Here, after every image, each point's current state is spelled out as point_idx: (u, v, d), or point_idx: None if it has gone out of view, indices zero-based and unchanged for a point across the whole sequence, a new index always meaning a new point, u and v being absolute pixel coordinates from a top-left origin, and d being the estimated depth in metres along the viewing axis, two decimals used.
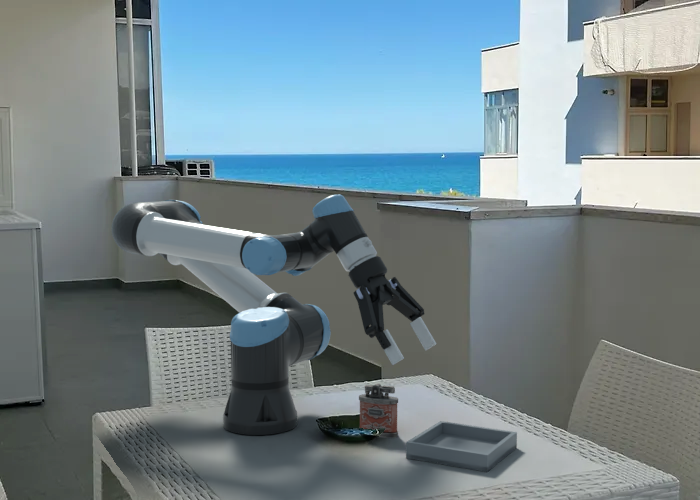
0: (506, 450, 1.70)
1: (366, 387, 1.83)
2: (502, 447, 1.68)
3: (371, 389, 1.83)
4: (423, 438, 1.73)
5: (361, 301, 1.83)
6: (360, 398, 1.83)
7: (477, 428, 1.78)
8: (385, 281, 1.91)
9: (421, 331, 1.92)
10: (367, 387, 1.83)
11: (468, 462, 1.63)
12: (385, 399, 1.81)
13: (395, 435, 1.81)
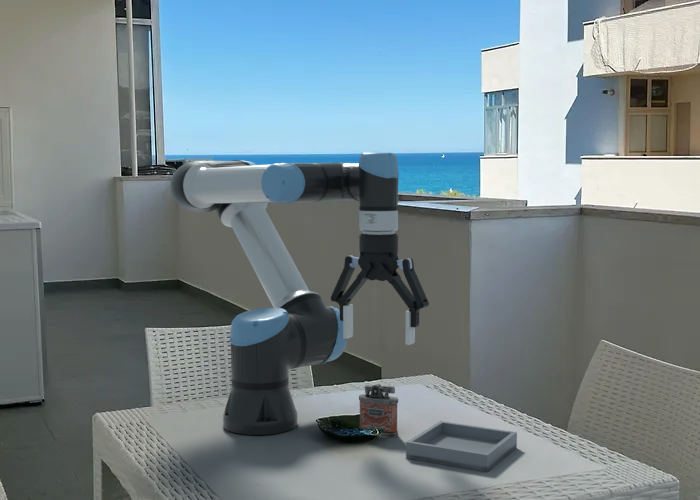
0: (506, 450, 1.70)
1: (366, 387, 1.83)
2: (502, 447, 1.68)
3: (371, 389, 1.83)
4: (423, 438, 1.73)
5: None
6: (360, 398, 1.83)
7: (477, 428, 1.78)
8: (387, 260, 1.78)
9: None
10: (367, 387, 1.83)
11: (468, 462, 1.63)
12: (385, 399, 1.81)
13: (395, 435, 1.81)
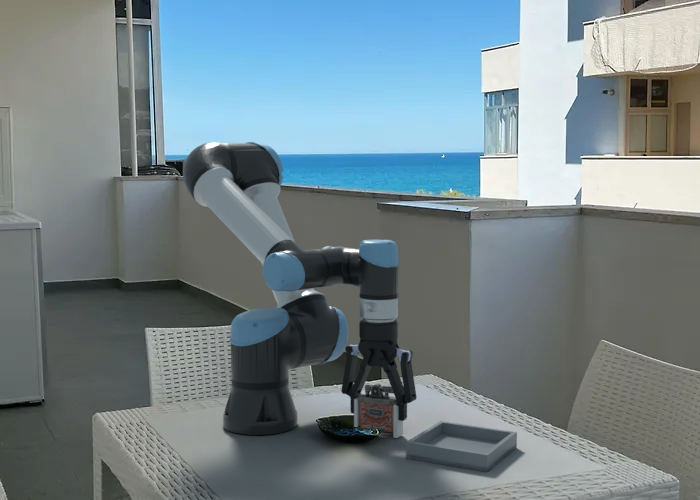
0: (506, 450, 1.70)
1: (366, 387, 1.83)
2: (502, 447, 1.68)
3: (371, 389, 1.83)
4: (423, 438, 1.73)
5: None
6: (360, 398, 1.83)
7: (477, 428, 1.78)
8: (387, 347, 1.80)
9: None
10: (367, 387, 1.83)
11: (468, 462, 1.63)
12: (385, 399, 1.81)
13: None
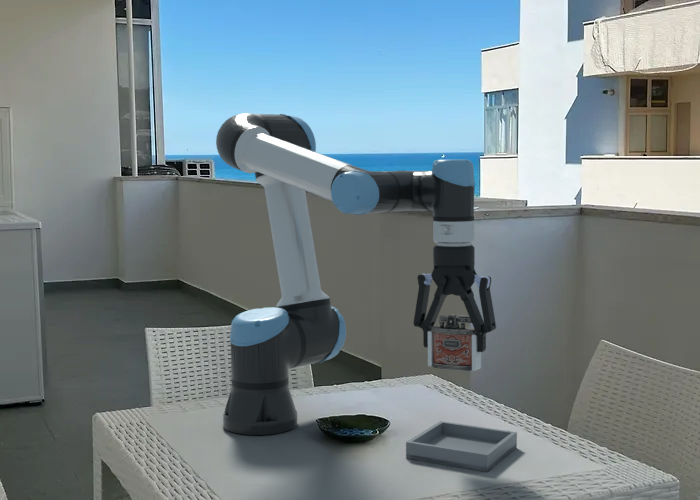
0: (506, 450, 1.70)
1: (441, 318, 1.71)
2: (502, 447, 1.68)
3: (446, 319, 1.70)
4: (423, 438, 1.73)
5: None
6: (434, 329, 1.71)
7: (477, 428, 1.78)
8: (464, 273, 1.68)
9: None
10: (442, 317, 1.71)
11: (468, 462, 1.63)
12: (462, 329, 1.69)
13: None
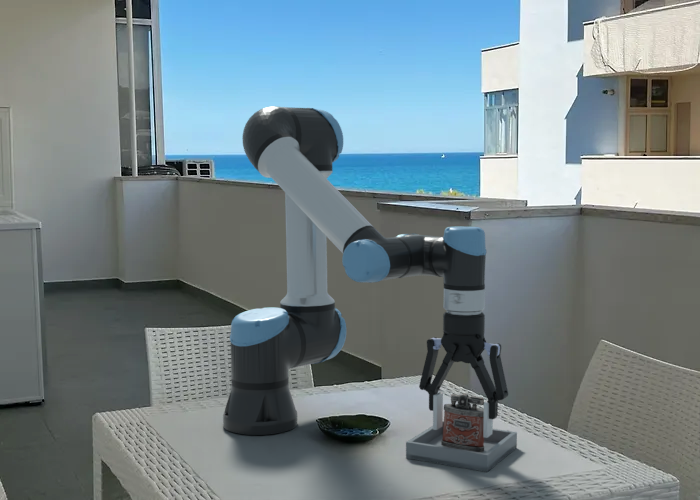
0: (506, 450, 1.70)
1: (453, 396, 1.71)
2: (502, 447, 1.68)
3: (458, 399, 1.71)
4: (423, 438, 1.73)
5: None
6: (445, 408, 1.71)
7: None
8: (474, 341, 1.68)
9: None
10: (454, 397, 1.71)
11: (468, 462, 1.63)
12: (473, 411, 1.69)
13: (482, 450, 1.70)
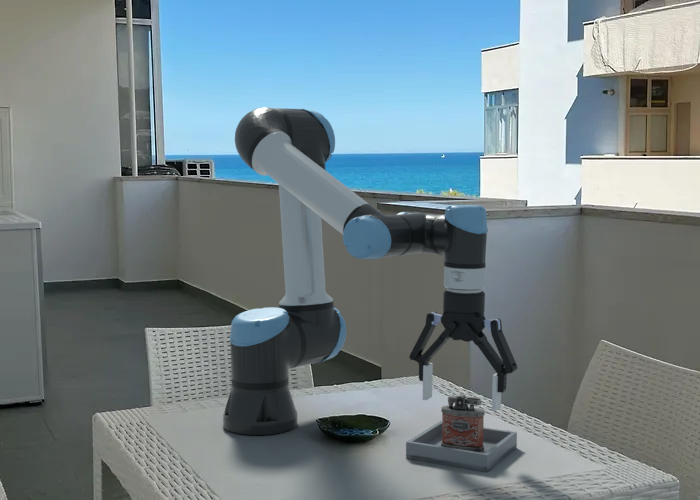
0: (506, 450, 1.70)
1: (450, 398, 1.71)
2: (502, 447, 1.68)
3: (455, 400, 1.71)
4: (423, 438, 1.73)
5: None
6: (443, 410, 1.71)
7: None
8: (473, 320, 1.67)
9: None
10: (451, 398, 1.71)
11: (468, 462, 1.63)
12: (471, 411, 1.69)
13: (481, 450, 1.70)
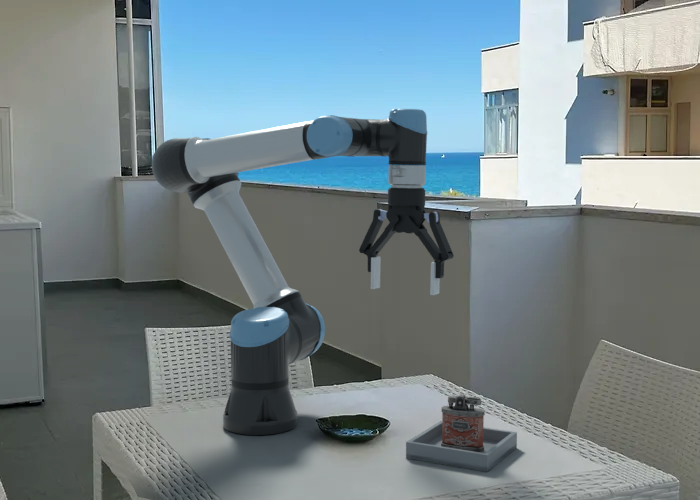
0: (506, 450, 1.70)
1: (450, 398, 1.71)
2: (502, 447, 1.68)
3: (455, 400, 1.71)
4: (423, 438, 1.73)
5: None
6: (443, 410, 1.71)
7: None
8: (414, 213, 1.85)
9: None
10: (451, 398, 1.71)
11: (468, 462, 1.63)
12: (471, 411, 1.69)
13: (481, 450, 1.70)
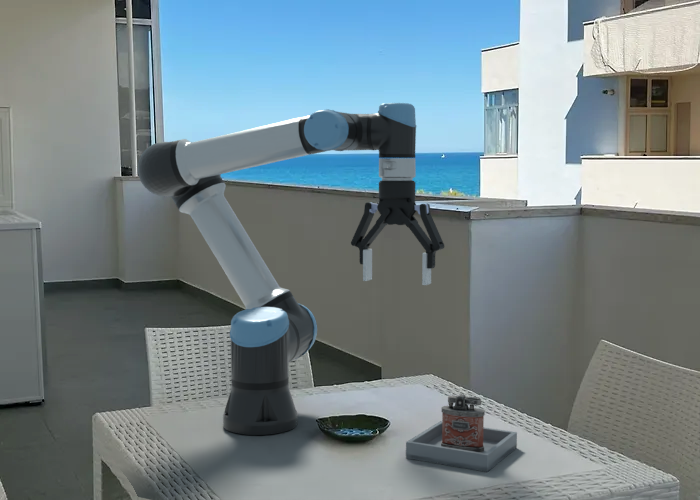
0: (506, 450, 1.70)
1: (450, 398, 1.71)
2: (502, 447, 1.68)
3: (455, 400, 1.71)
4: (423, 438, 1.73)
5: None
6: (443, 410, 1.71)
7: None
8: (405, 205, 1.89)
9: None
10: (451, 398, 1.71)
11: (468, 462, 1.63)
12: (471, 411, 1.69)
13: (481, 450, 1.70)
